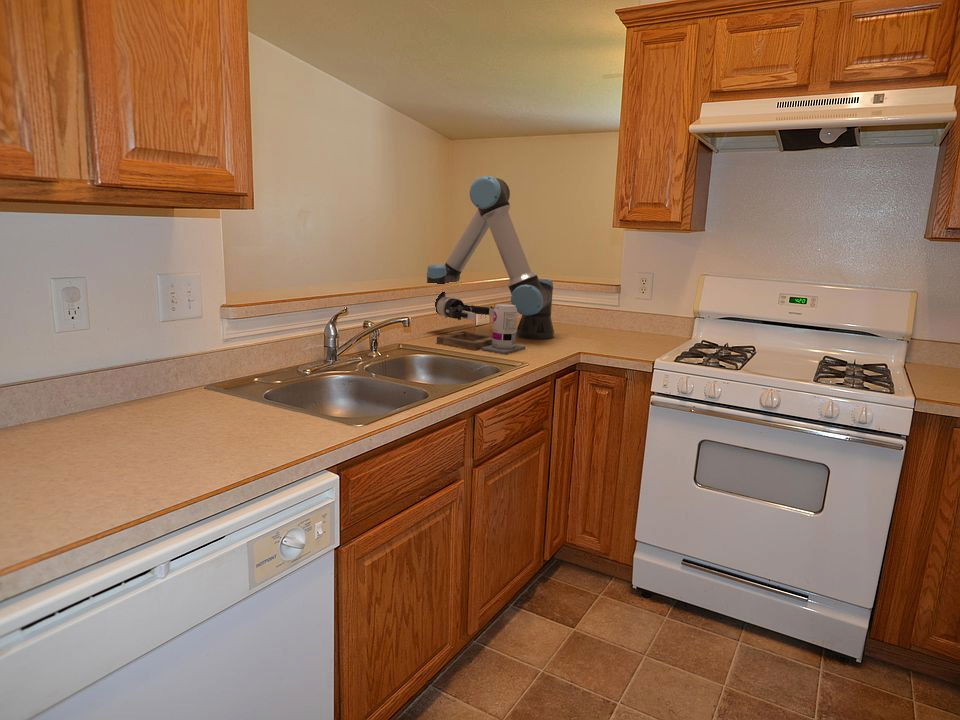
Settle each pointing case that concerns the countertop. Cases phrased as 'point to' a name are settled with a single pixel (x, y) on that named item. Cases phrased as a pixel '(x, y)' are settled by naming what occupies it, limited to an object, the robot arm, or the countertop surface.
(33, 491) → the countertop surface
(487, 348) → the slate mat
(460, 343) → the walnut collar
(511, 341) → the supplement can
